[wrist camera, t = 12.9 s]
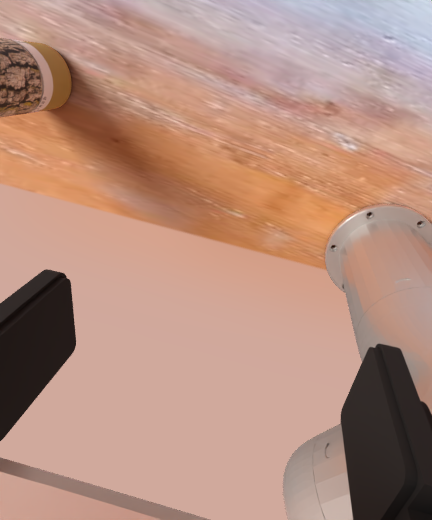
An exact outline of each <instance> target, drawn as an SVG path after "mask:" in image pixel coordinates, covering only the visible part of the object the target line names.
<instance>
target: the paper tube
mask: <svg viewBox="0 0 432 520" xmlns="http://www.w3.org/2000/svg"><path fill="white" fill-rule="evenodd" d="M71 86H72V83H71V75H70V71H69V69H68V66H67V64H66V62H65V61H64V59H63V58H62V57H61V55H60V54H59V53H58V52H57V51H56V50H54V49H53V48H51V47H50V46H47V45H45V44H41V43H34V42H26V41H20V40H12V39H4V38H0V117H5V116H12V115H19V114H26V113H33V112H38V111H45V110H52V109H56V108H59V107H61V106H62V105H64V104H65V103H66V101H67V100H68V98H69V96H70V93H71Z"/></svg>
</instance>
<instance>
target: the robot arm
mask: <svg viewBox="0 0 432 520" xmlns="http://www.w3.org/2000/svg"><path fill="white" fill-rule="evenodd" d="M369 212H371V214H370V215H367V213H369ZM419 221H421V222H420V223H419V224H417V223H418V222H419ZM332 245H335V246H334V247H331V246H332ZM325 263H326V268H327V271H328V274H329V276H330V278H331V279H332V281H333V282H334V283H335V285H336V286H337V287H338V288H339V289H341V290H342V291H343V292H345V293H346V297H347V302H348V306H349V311H350V315H351V320H352V324H353V329H354V333H355V337H356V342H357V346H358V350H359V354H360V357H361V360H362V364H361V366H360V369H359V371H358V373H357V376H356V378H355V380H354V383H353V385H352V387H351V389H350V392H349V394H348V396H347V399H346V401H345V403H344V406H343V408H342V412H341V424H339V425H337V426H335V427H333V428H331V429H329V430H327V431H325V432H323V433H321V434H319V435H317V436H315V437H313V438H312V439H310V440H308V441H307V442H305V443H304V444H302V445H301V446H300V447H299V448H298V449H297V450H296V451H295V452H294V453H293V454H292V456H291V457H290V459H289V461H288V463H287V466H286V468H285V472H284V478H283V496H284V504H285V509H286V514H287V518H288V520H432V224H431V223H430V222H429V220H427V219H426V218H425V217H424V216H423V215H422V214H420V213H419V212H417V211H416V210H414V209H411V208H409V207H406V206H402V205H397V204H378V205H372V206H368V207H365V208H362V209H360V210H358V211H356V212H354V213H352V214H350V215H349V216H347V217H346V218H345V219H344V220H342V221H341V222H340V223H339V224H338V225H337V226H336V228H335V229H334V230H333V232H332V233H331V235H330V237H329V239H328V242H327V245H326V250H325ZM75 346H76V337H75V325H74V314H73V303H72V294H71V283H70V280H69V279H67V278H66V275H65V274H64V273H60V272H56V271H52V270H44V271H42V272H41V273H40V274H38V275H37V276H36V277H34V278H33V279H32V280H30V281H29V282H28V283H27V284H25V285H24V286H23V287H21V288H20V289H19V290H17V291H16V292H15V293H13V294H12V295H11V296H10V297H8V298H7V299H6V300H4V301H3V302H2V303H0V441H1V440H2V439H3V438H4V437H5V436H6V434H7V433H8V432H9V431H10V429H11V428H12V427H13V426H14V425H15V423H16V422H17V421H18V420H19V418H20V417H21V416H22V415H23V414H24V412H25V411H26V410H27V409H28V407H29V406H30V405H31V404H32V402H33V401H34V400H35V399H36V398H37V396H38V395H39V394H40V393H41V391H42V390H43V389H44V388H45V386H46V385H47V384H48V383H49V381H50V380H51V379H52V378H53V377H54V375H55V374H56V373H57V372H58V370H59V369H60V368H61V367H62V365H63V364H64V363H65V362H66V360H67V359H68V358H69V357H70V356H71V354H72V353H73V351H74V349H75ZM0 520H209V519H206V518H203V517H199V516H196V515H193V514H189V513H186V512H183V511H180V510H176V509H172V508H170V507H166V506H163V505H160V504H156V503H153V502H149V501H146V500H143V499H139V498H136V497H133V496H129V495H126V494H122V493H119V492H115V491H112V490H109V489H106V488H102V487H99V486H95V485H92V484H89V483H85V482H82V481H79V480H75V479H71V478H69V477H65V476H62V475H58V474H55V473H51V472H48V471H44V470H41V469H38V468H34V467H30V466H27V465H24V464H20V463H17V462H14V461H10V460H7V459H3V458H0Z"/></svg>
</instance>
